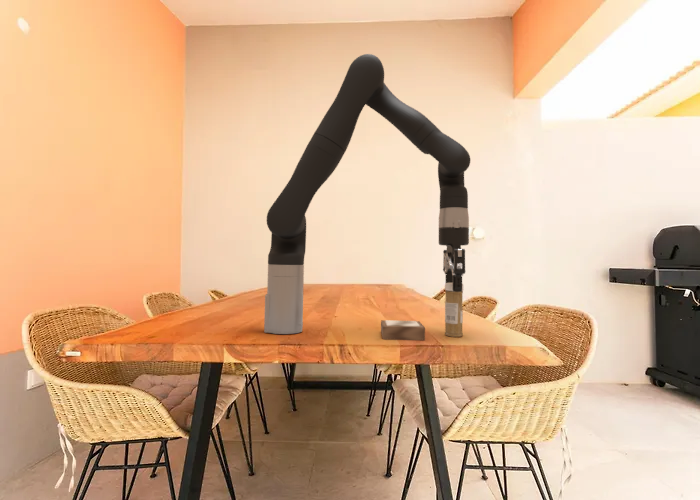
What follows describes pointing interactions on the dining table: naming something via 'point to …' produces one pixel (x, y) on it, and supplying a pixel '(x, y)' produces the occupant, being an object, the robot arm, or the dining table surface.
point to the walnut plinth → (402, 330)
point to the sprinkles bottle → (453, 311)
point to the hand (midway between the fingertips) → (453, 290)
